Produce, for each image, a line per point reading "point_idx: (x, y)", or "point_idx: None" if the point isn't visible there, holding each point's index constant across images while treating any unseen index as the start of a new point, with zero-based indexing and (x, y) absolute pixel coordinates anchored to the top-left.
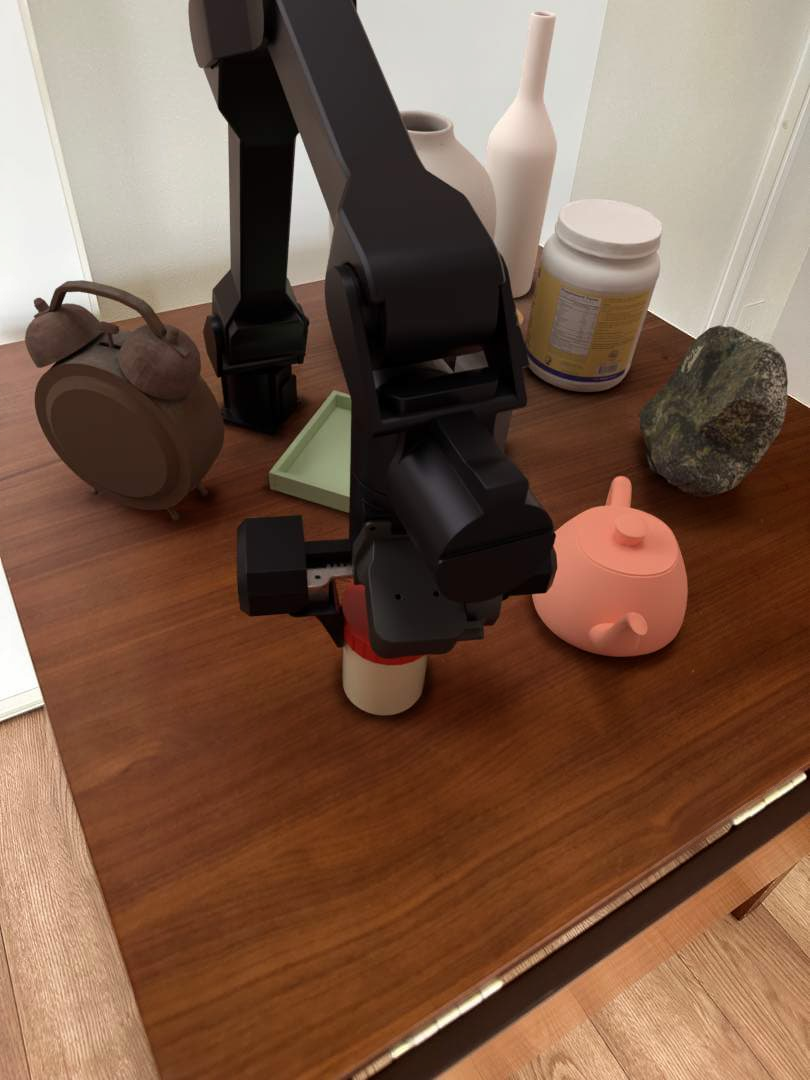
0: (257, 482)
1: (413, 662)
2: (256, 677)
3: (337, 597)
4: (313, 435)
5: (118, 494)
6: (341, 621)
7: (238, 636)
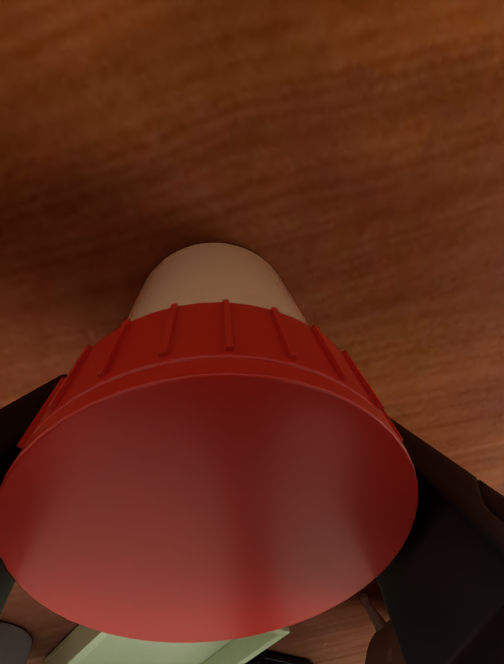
0: None
1: None
2: (409, 361)
3: (405, 574)
4: (212, 657)
5: None
6: None
7: (403, 426)
